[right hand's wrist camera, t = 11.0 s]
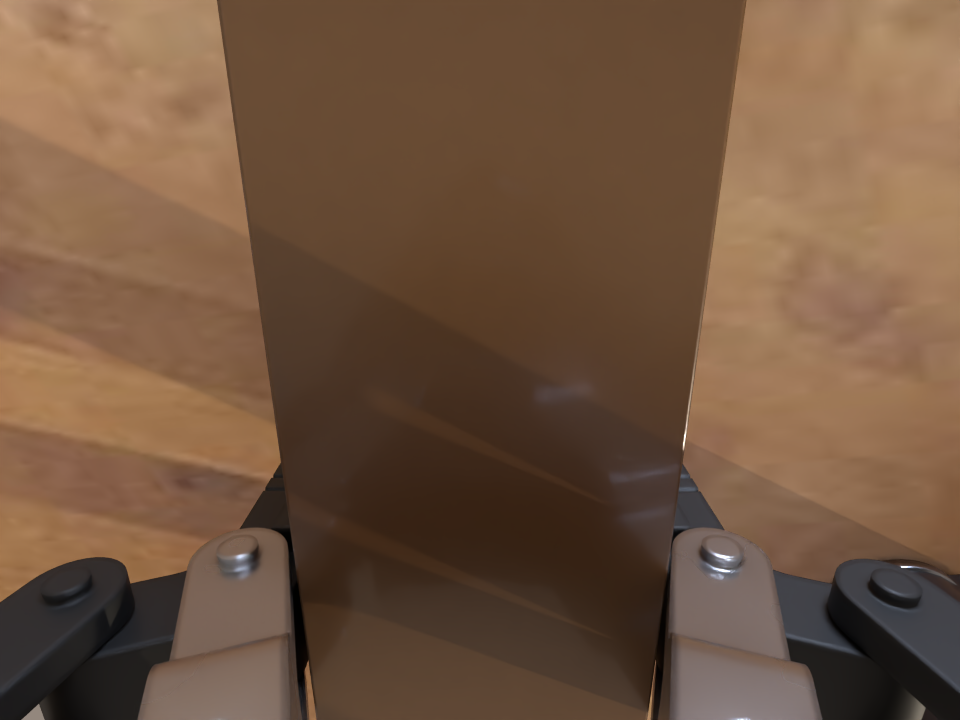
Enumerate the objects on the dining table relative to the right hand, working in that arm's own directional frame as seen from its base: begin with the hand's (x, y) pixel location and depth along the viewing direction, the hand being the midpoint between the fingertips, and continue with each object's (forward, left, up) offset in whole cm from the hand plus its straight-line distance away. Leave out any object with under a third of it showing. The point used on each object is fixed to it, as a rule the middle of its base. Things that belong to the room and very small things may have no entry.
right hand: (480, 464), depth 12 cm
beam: (-3, -27, -2) cm, 27 cm away
